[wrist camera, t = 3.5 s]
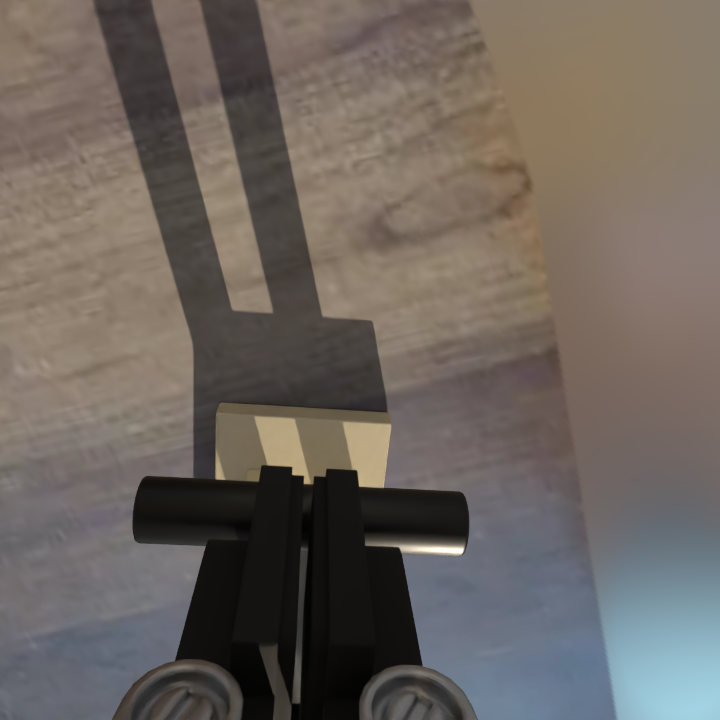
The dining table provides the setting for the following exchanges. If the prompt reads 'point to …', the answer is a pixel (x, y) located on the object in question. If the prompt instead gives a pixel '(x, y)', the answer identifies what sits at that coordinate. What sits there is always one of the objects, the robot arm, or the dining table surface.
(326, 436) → the bracket
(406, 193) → the dining table surface
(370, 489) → the lever
